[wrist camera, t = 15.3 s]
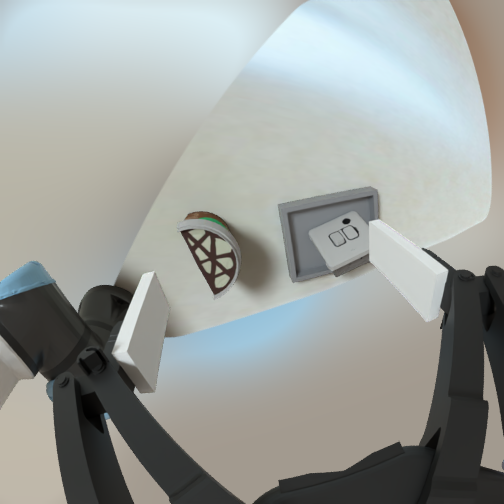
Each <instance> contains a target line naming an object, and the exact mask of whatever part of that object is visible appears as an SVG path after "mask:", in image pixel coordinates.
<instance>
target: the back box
mask: <svg viewBox="0 0 504 504" xmlns="http://www.w3.org/2000/svg"><path fill="white" fill-rule="evenodd" d="M278 209H279V214H280V220H281V226H282V232H283V238H284V244H285V250H286V256H287V263H288V269H289V276H290V278H291V280H292V282H293V283H294V282H298V281H302V280H306V279H310V278H314V277H318V276H322V275H326V274H329V273H333V272H332V271H331V270H330V269H329V268H328V267H327V265H326V262H325V260H324V259H323V257H322V256H321V254H320V253H319V251H318V250H317V248H316V247H315V245H314V244H313V242H312V241H311V239H310V237H309V234H308V233H309V231H310V230H311V229H314V228H316V227H318V226H320V225H322V224H325V223H327V222H329V221H331V220H333V219H335V218H338V217H340V216H342V215H344V214H346V213H348V212H351V211H355V212H357V213H358V215H359V216H360V217H361V218H362V219H363V220H364V221H365V222H366V224H367V225H368V226H369V221H373V220H378V193H377V189H374V188H372V187H365V188H359V189H353V190H348V191H343V192H337V193H332V194H327V195H322V196H317V197H312V198H307V199H302V200H297V201H292V202H287V203H283V204H278ZM360 259H362V257H361V258H360ZM367 263H370V261H368V262H367ZM365 264H366V263H365ZM349 266H350V265H349Z"/></svg>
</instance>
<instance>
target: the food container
mask: <svg viewBox="0 0 504 504" xmlns="http://www.w3.org/2000/svg"><path fill="white" fill-rule="evenodd" d="M177 229H178V231H177V232H179V231H180V232H181V234H182V236H183V237H184V239H185V241H186V243H187V245H188V247H189V249H190V251H191V253H192V255H193V257H194V259H195V261H196V263H197V265H198V267H199V269H200V270H201V272H202V274H203V276H204V277H205V279H206V281H207V283H208V284H209V286H210V288H211V290H212V292H213V294H214V300H215V299H217V298H219V297H221V296H222V295H224V294H225V293H226V292H227V291H229V289H230V288H231V287H232V286H233V285H234V283H235V281H236V280H237V277H238V274H239V271H240V267H241V252H240V248H239V245H238V243H237V241H236V240H235V238H234V237H233V236H232V234H231V233H230V232H229V229H228V227H227V225H226V223H225V222H224V221H223V220H222V219H221V218H220V217H218V216H217V215H215V214H213V213H209V212H203V211H201V212H193V213H190V214H188V215H187V217H186V218H185V220H184V221H181V222H178V223H177Z"/></svg>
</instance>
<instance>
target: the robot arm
mask: <svg viewBox="0 0 504 504" xmlns="http://www.w3.org/2000/svg"><path fill="white" fill-rule="evenodd" d="M369 261H370V262H371V263H372V264H373V265H374V266H375V267H376V268H377V269H378V270H379V271H380V272H381V273H382V274H383V275H384V276H385V277H386V278H387V279H388V280H389V281H390V282H391V284H392V285H393V286H394V287H395V288H396V289H397V290H398V291H399V292H400V293H401V294H402V295H403V296H404V298H405V299H406V300H407V301H408V302H409V303H410V304H411V305H412V306H413V307H414V308H415V310H416V311H417V312H418V313H419V314H420V315H421V316H422V318H423V319H424V320H425V321H426V322H429V321H431V320H433V319H435V318H437V317H438V315H439V311H440V307H441V309H442V310H443V311H444V312H445V313H444V316H443V320H442V323H441V327H440V329H442V340H441V349H440V357H439V365H438V372H437V378H436V384H435V390H434V395H433V400H432V404H431V409H430V413H429V418H428V421H427V425H426V429H425V432H424V435H423V437H422V439H421V441H420V444H419V446H404V447H402V446H401V444H400V442H397V443H395V444H393V445H390V446H388V447H386V448H383V449H381V450H379V451H377V452H374V453H372V454H370V455H369V456H367V457H366V458H364V459H363V460H361V461H360V462H358V463H356V464H355V465H353V466H351V467H350V468H348V469H346V470H344V471H339V472H326V473H310V474H306V475H301V476H298V477H293V478H288V479H283V480H279V486H278V487H275V488H273V489H271V490H270V491H268V492H266V493H265V494H263V495H262V496H261V497H259V498H258V499H257V500H256V501H255V502H254V503H253V504H504V473H503V472H499V471H496V470H492V469H489V468H485V467H482V466H480V464H481V459H482V454H483V449H484V443H485V436H486V429H487V419H488V409H489V407H488V401H485V400H483V387H484V386H483V385H484V344H485V347H486V351H487V354H488V358H489V361H490V365H491V369H492V373H493V378H494V382H495V387H496V391H497V396H498V402H499V407H500V414H501V421H502V429H503V435H504V270H503V269H501V268H500V267H497V266H489V267H487V268H486V271H485V275H484V276H475V275H474V274H473V273H472V272H470V271H468V270H457V271H456V270H455V269H454V268H453V267H451V266H450V265H449V264H447V263H446V262H445V261H443V260H442V259H441V258H440V257H437V255H436V254H434V253H433V252H432V251H430V250H427V249H424V248H419V247H418V246H416V245H415V244H414V243H412V242H411V241H410V240H408V239H407V238H405V237H404V236H403V235H401V234H400V233H398V232H397V231H396V230H394V229H393V228H391V227H390V226H388V225H387V224H386V223H384V222H383V221H381V220H380V219H378V220H373V221H369ZM55 282H56V281H55V280H54V279H52V278H51V276H50V275H49V274H48V272H47V271H46V270H45V268H44V267H43V266H42V264H41V263H39V262H37V261H30V262H28V263H27V264H25V265H24V266H22V267H20V268H19V269H18V270H16V271H14V272H13V273H12V274H10V275H9V276H7V277H6V278H5V279H3V280H2V281H1V282H0V409H1V407H2V406H3V404H4V403H5V401H6V399H7V398H8V396H9V395H10V393H11V392H12V390H13V388H14V387H15V386H16V384H17V383H18V381H19V380H21V379H33V378H34V377H35V376H36V374H37V373H38V372H40V373H41V374H42V375H43V376H44V377H45V378H46V379H47V380H48V381H49V382H48V383H47V385H46V388H47V389H46V392H47V395H48V397H49V398H50V400H51V401H52V402H53V413H54V426H55V438H56V445H57V454H58V460H59V466H60V472H61V477H62V482H63V487H64V491H65V495H66V500H67V503H68V504H134V502H133V500H132V498H131V495H130V493H129V490H128V488H127V486H126V483H125V480H124V477H123V475H122V472H121V469H120V466H119V463H118V460H117V458H116V455H115V451H114V448H113V445H112V442H111V438H110V435H109V431H108V428H107V424H106V420H107V419H110V418H111V420H112V422H113V423H114V425H115V426H116V428H117V429H118V431H119V432H120V434H121V435H122V437H123V438H124V440H125V441H126V443H127V444H128V446H129V447H130V449H131V450H132V451H133V453H134V454H135V456H136V457H137V458H138V459H139V461H140V462H141V464H142V465H143V466H144V467H145V469H146V470H147V471H148V472H149V474H150V475H151V476H152V477H153V479H154V480H155V481H156V482H157V483H158V485H159V486H160V487H161V488H162V489H163V490H164V491H165V493H166V494H167V495H168V496H169V501H170V503H171V504H245V503H244V502H243V501H241V500H240V499H239V498H237V497H236V496H235V495H233V494H232V493H231V492H229V491H228V490H227V489H226V488H224V487H223V486H222V485H221V484H220V483H219V482H217V481H216V480H215V479H214V478H213V477H211V475H209V474H208V473H207V472H206V471H205V470H204V469H203V468H202V467H201V466H199V465H198V464H197V463H196V462H195V461H194V460H193V459H192V458H191V457H190V456H189V455H188V454H187V453H186V452H185V451H184V450H183V449H182V448H181V447H180V446H179V445H178V444H177V443H176V442H175V441H174V440H173V439H172V437H171V436H170V435H169V434H168V433H167V432H166V431H165V430H164V429H163V428H162V427H161V425H160V424H159V423H158V422H157V421H156V420H155V419H154V417H153V416H152V415H151V414H150V413H149V411H148V410H147V409H146V408H145V407H144V405H143V404H142V403H141V402H140V401H139V399H138V398H137V397H136V395H135V394H134V388H135V387H136V388H137V389H138V391H139V392H140V393H152V392H155V389H156V383H157V376H158V370H159V364H160V358H161V352H162V347H163V341H164V337H165V331H166V326H167V321H168V316H169V312H170V306H169V304H168V302H167V299H166V297H165V295H164V292H163V290H162V288H161V285H160V283H159V280H158V278H157V276H156V273H155V271H153V272H148V273H144V274H143V275H142V278H141V280H140V282H139V285H138V287H137V289H136V292H135V294H134V295H132V294H131V293H129V292H128V291H126V290H124V289H122V288H119V287H116V286H111V285H100V286H96V287H93V288H91V289H90V290H89V291H88V292H87V293H86V294H85V295H84V297H83V299H82V300H81V302H80V305H79V310H78V313H77V312H76V310H75V309H74V308H73V306H72V305H71V304H70V302H69V301H68V300H67V298H66V297H65V296H64V294H63V293H62V291H61V290H60V289H59V287H58V286H57V284H56V283H55ZM483 341H484V342H483ZM502 468H503V470H504V460H503V462H502Z"/></svg>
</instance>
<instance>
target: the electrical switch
mask: <svg viewBox="0 0 504 504" xmlns="http://www.w3.org/2000/svg"><path fill="white" fill-rule="evenodd" d="M308 234H309V237H310V239H311V241H312V242H313V244H314V245H315V247H316V248H317V250H318V251H319V253H320V254H321V256H322V257H323V259H324V260H325V262H326V265H327V267H328V268H329V269H330V270H331V271H332V272H333V273H334V275H335V274H336V275H335V277H338V276H340V275H342V274H344V273H346V272H348V271H350V270H353V269H355V268H357V267H359V266H361V265H363V264H365V263H367V262H368V261H369V226H368V225H367V224H366V222H365V221H364V220H363V219H362V218H361V217H360V216H359V215H358V213H357V212H355V211H351V212H348V213H346V214H344V215H342V216H340V217H338V218H335V219H333V220H331V221H329V222H327V223H325V224H322V225H320V226H318V227H316V228H314V229H311V230H310V231H309V233H308ZM361 257H362V259H360V258H361ZM349 265H350V266H349ZM338 271H339V272H338ZM344 271H345V272H344Z"/></svg>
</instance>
